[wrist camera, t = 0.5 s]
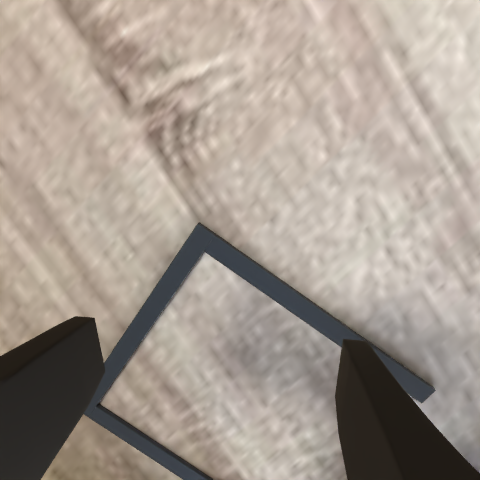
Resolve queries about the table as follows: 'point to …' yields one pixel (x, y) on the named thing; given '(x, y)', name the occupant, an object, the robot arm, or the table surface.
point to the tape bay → (261, 280)
